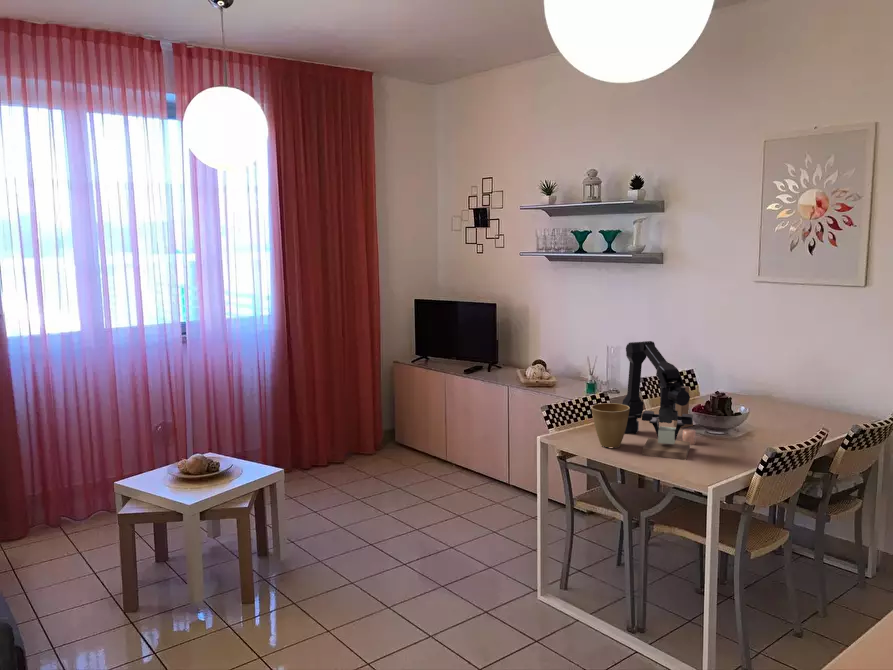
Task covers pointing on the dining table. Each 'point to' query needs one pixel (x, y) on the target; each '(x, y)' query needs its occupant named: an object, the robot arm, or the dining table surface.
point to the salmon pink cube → (689, 436)
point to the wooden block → (683, 410)
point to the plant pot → (610, 423)
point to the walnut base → (666, 449)
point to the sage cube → (666, 435)
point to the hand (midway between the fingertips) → (666, 439)
